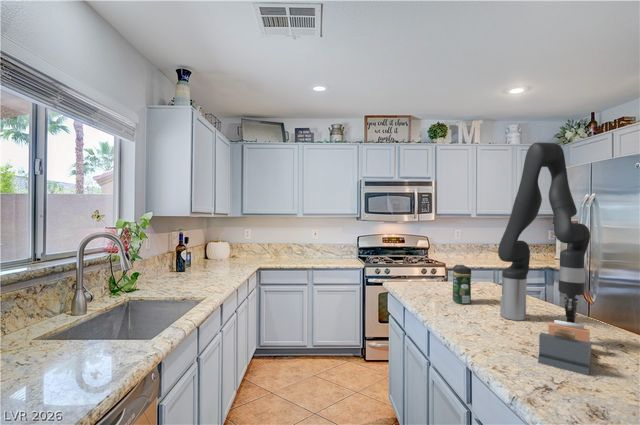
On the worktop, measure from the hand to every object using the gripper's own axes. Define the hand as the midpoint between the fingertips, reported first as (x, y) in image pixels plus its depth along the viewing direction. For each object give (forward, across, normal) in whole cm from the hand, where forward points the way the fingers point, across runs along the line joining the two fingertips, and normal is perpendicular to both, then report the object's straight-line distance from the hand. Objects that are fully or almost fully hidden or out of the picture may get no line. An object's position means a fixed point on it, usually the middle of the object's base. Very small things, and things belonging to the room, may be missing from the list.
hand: (570, 328), depth 121 cm
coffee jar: (+5, +27, +46) cm, 54 cm away
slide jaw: (+2, -8, 0) cm, 8 cm away
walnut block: (+3, -21, 0) cm, 21 cm away
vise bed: (+5, -16, 0) cm, 17 cm away
